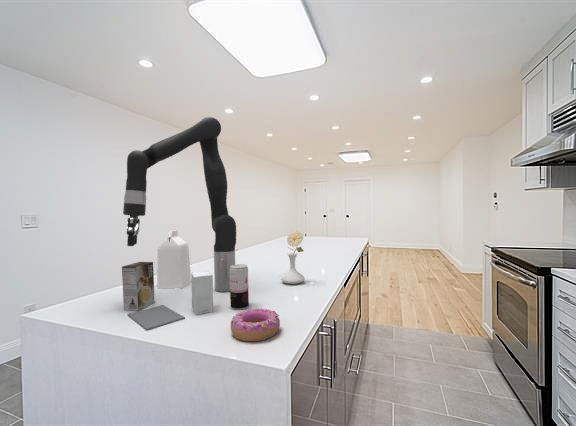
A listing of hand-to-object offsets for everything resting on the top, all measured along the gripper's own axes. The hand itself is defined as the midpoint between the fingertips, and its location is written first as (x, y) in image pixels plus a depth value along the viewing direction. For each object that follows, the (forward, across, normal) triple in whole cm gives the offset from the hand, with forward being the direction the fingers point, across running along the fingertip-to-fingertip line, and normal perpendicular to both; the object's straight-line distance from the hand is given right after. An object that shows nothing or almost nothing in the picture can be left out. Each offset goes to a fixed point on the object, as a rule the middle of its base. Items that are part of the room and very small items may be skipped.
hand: (132, 245), depth 109 cm
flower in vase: (+17, +1, -69) cm, 71 cm away
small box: (+22, -17, -26) cm, 38 cm away
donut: (+22, -42, -38) cm, 61 cm away
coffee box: (+23, -3, -4) cm, 23 cm away
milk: (+21, +23, -17) cm, 35 cm away
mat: (+23, -17, -10) cm, 30 cm away
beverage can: (+20, -20, -38) cm, 48 cm away
